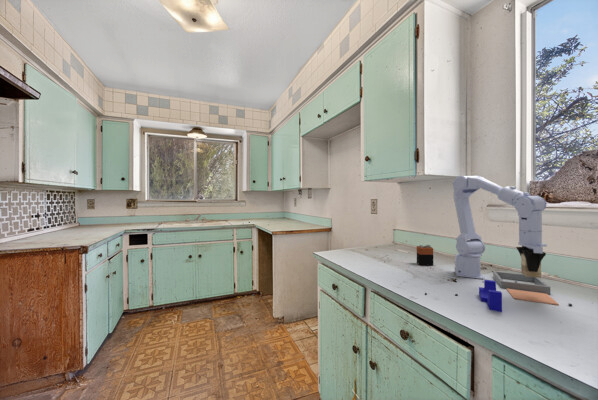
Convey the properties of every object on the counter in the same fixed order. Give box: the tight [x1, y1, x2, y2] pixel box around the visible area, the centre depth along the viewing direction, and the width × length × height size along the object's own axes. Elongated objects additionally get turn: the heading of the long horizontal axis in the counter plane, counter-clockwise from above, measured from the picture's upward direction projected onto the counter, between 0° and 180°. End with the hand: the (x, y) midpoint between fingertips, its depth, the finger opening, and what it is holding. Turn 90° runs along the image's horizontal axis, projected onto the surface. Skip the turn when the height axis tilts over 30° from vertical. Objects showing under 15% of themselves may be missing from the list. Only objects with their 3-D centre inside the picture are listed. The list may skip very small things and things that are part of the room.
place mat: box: [505, 288, 560, 306], centre depth 83 cm, size 11×9×1 cm
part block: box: [520, 253, 542, 279], centre depth 83 cm, size 4×4×7 cm
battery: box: [416, 244, 434, 267], centre depth 123 cm, size 4×7×10 cm, turn 83°
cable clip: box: [478, 278, 503, 313], centre depth 79 cm, size 12×4×6 cm, turn 148°
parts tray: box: [492, 270, 551, 295], centre depth 94 cm, size 14×14×2 cm
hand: (530, 269), depth 83 cm, fingers closed on part block, 4 cm apart
